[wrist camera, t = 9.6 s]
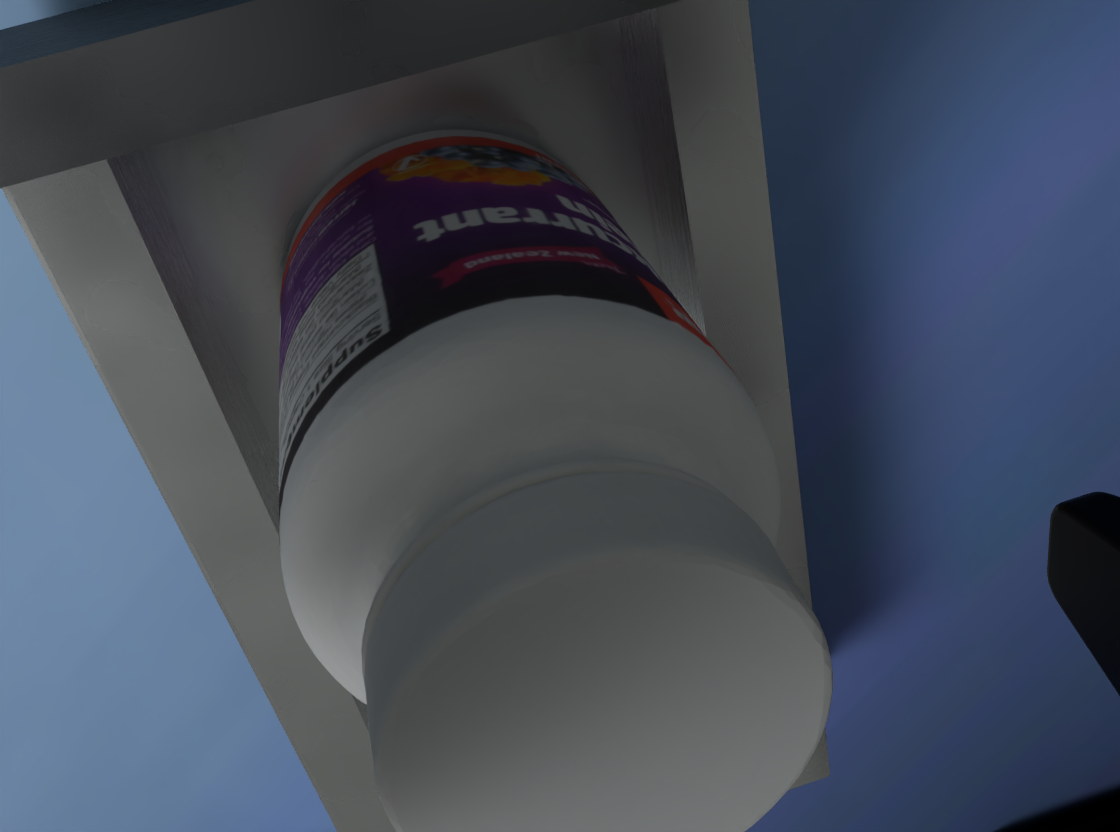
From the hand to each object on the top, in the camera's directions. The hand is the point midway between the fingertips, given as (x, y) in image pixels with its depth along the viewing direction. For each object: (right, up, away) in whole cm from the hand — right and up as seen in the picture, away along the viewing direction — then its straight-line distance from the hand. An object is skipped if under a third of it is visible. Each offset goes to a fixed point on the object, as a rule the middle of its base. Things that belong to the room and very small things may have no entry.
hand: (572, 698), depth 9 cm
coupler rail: (-1, +2, +11) cm, 11 cm away
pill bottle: (-2, +5, +8) cm, 10 cm away
